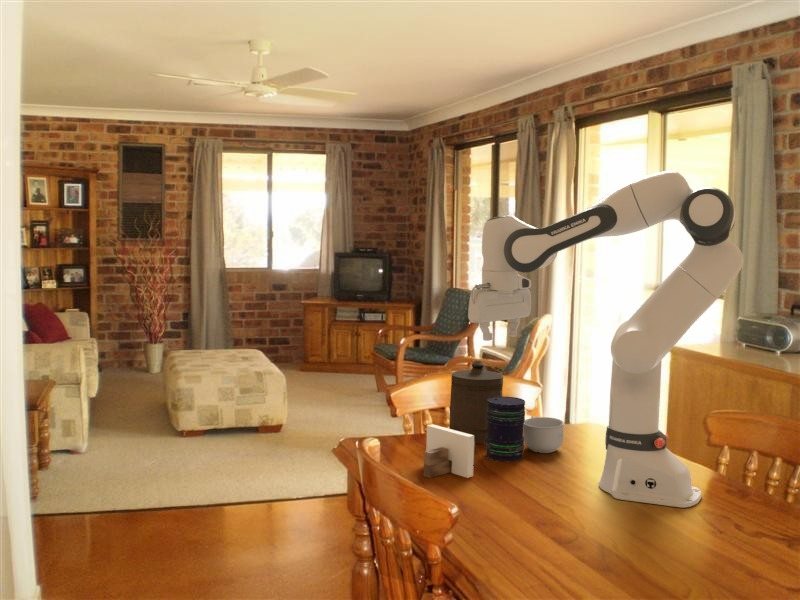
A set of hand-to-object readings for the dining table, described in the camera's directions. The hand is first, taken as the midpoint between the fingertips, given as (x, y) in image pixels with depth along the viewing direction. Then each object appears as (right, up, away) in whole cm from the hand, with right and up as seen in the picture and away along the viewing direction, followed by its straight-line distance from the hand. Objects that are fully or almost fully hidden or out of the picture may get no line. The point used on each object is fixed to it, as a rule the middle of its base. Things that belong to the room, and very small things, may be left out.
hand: (500, 338), depth 202 cm
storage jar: (+3, -32, +13) cm, 34 cm away
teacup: (+14, -31, +21) cm, 40 cm away
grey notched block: (-12, -32, 0) cm, 35 cm away
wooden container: (-3, -30, +31) cm, 43 cm away
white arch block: (-13, -32, 0) cm, 35 cm away
